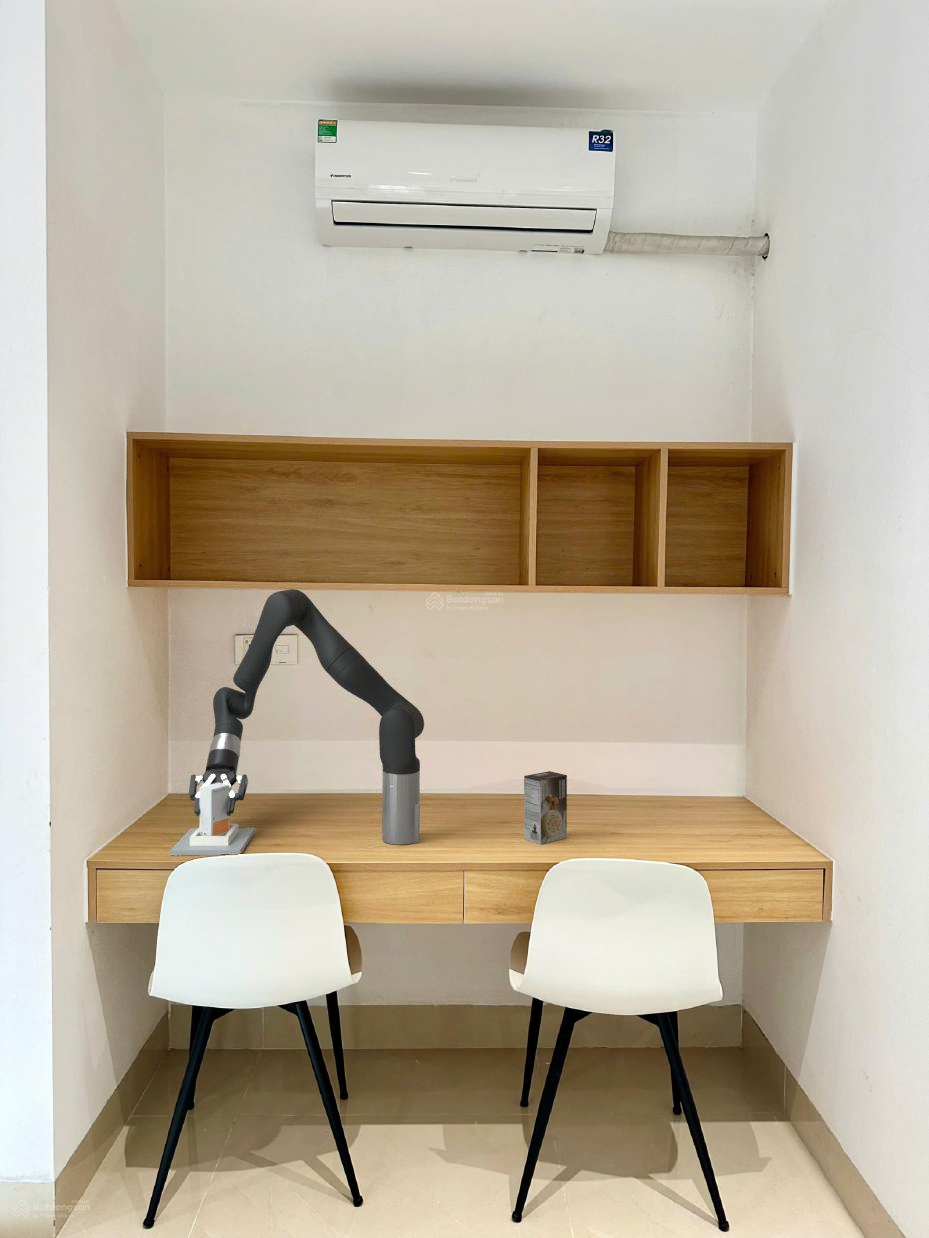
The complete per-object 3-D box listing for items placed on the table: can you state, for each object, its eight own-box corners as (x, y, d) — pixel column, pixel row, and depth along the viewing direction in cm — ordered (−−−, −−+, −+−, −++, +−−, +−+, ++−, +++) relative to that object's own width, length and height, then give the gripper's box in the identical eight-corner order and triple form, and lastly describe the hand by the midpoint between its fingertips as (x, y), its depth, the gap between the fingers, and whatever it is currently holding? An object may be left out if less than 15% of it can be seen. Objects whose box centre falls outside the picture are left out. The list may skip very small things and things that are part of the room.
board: (255, 832, 215) (255, 819, 215) (240, 855, 197) (240, 841, 197) (190, 832, 214) (190, 820, 214) (170, 855, 196) (170, 842, 196)
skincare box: (211, 839, 202) (210, 789, 202) (198, 836, 204) (198, 787, 204) (230, 832, 207) (230, 784, 207) (218, 829, 210) (217, 781, 209)
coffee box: (549, 832, 217) (550, 770, 217) (567, 838, 212) (568, 774, 212) (522, 838, 212) (523, 775, 211) (540, 845, 207) (541, 779, 206)
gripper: (192, 747, 212) (179, 806, 201) (250, 747, 213) (241, 806, 201) (197, 763, 217) (185, 822, 206) (254, 763, 218) (245, 821, 207)
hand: (213, 814), depth 204 cm, fingers closed on skincare box, 6 cm apart
